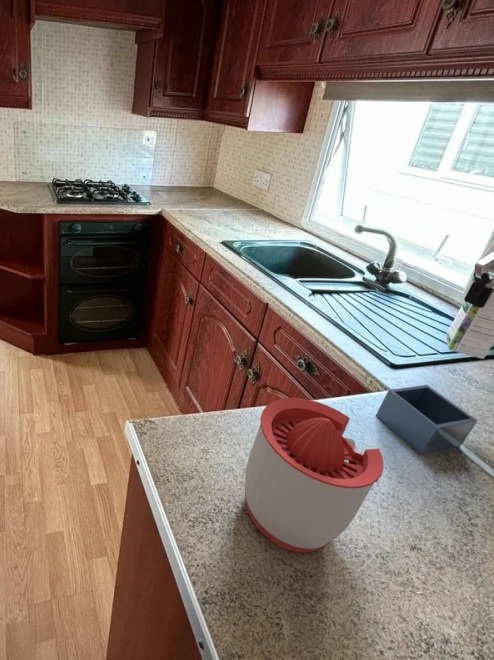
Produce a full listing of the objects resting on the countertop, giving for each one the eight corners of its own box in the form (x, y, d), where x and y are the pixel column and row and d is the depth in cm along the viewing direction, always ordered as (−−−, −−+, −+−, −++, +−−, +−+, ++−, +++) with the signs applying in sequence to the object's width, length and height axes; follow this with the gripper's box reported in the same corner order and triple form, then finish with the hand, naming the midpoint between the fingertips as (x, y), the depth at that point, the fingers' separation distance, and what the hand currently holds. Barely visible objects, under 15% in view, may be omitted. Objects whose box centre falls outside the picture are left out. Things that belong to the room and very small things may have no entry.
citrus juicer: (373, 558, 58) (436, 461, 49) (265, 577, 54) (311, 475, 45) (307, 467, 71) (347, 378, 63) (217, 477, 68) (246, 384, 59)
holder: (412, 409, 89) (426, 384, 86) (460, 447, 80) (478, 420, 77) (375, 415, 86) (388, 389, 83) (420, 455, 77) (437, 428, 74)
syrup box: (443, 337, 84) (477, 273, 77) (478, 346, 82) (515, 282, 75) (448, 350, 79) (484, 283, 73) (485, 360, 77) (526, 293, 70)
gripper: (532, 218, 62) (477, 316, 70) (601, 218, 67) (543, 309, 75) (481, 205, 69) (436, 296, 77) (548, 206, 74) (499, 291, 82)
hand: (489, 302), depth 76 cm, fingers closed on syrup box, 8 cm apart
